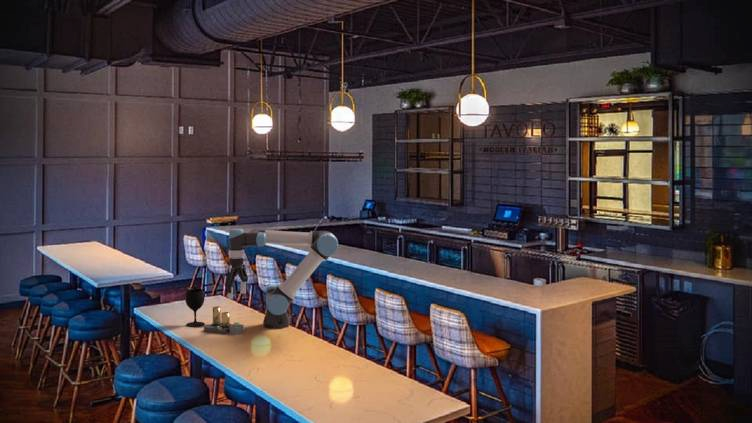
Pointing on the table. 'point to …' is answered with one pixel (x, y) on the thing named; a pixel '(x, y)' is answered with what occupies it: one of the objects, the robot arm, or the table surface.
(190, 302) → the wine glass
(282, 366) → the table surface
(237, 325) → the button
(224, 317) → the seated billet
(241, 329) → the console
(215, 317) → the loose billet
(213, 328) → the grey flat frame
